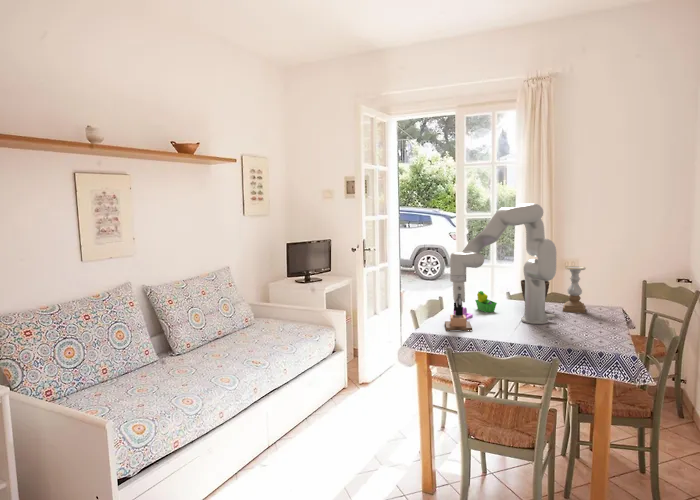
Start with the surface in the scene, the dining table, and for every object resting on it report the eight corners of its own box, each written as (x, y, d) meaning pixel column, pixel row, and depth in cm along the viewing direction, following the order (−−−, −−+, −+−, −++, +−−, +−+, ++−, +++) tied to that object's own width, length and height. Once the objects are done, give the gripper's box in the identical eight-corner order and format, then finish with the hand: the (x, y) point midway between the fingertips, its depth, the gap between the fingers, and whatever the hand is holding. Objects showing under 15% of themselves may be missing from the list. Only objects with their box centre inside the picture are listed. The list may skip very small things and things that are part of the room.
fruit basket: (497, 312, 267) (497, 291, 266) (482, 313, 265) (483, 293, 264) (486, 307, 278) (486, 288, 277) (472, 308, 276) (472, 289, 275)
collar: (464, 322, 242) (464, 314, 241) (466, 326, 235) (466, 318, 234) (450, 322, 242) (450, 314, 242) (451, 326, 235) (451, 318, 235)
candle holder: (585, 308, 270) (586, 266, 268) (584, 313, 261) (586, 269, 258) (564, 307, 275) (565, 265, 273) (562, 311, 266) (563, 268, 263)
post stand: (469, 324, 244) (469, 309, 243) (472, 331, 232) (472, 315, 231) (444, 324, 245) (444, 309, 244) (446, 330, 233) (446, 315, 233)
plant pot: (553, 312, 263) (553, 283, 261) (525, 313, 263) (525, 284, 262) (542, 306, 278) (543, 278, 276) (516, 307, 278) (516, 279, 276)
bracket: (463, 321, 250) (463, 308, 249) (453, 320, 253) (453, 306, 253) (474, 316, 260) (474, 303, 259) (464, 315, 264) (464, 302, 263)
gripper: (468, 281, 227) (468, 317, 229) (464, 275, 244) (464, 308, 246) (451, 281, 228) (451, 317, 230) (448, 275, 245) (448, 308, 247)
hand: (458, 312), depth 238 cm, fingers open, 9 cm apart
